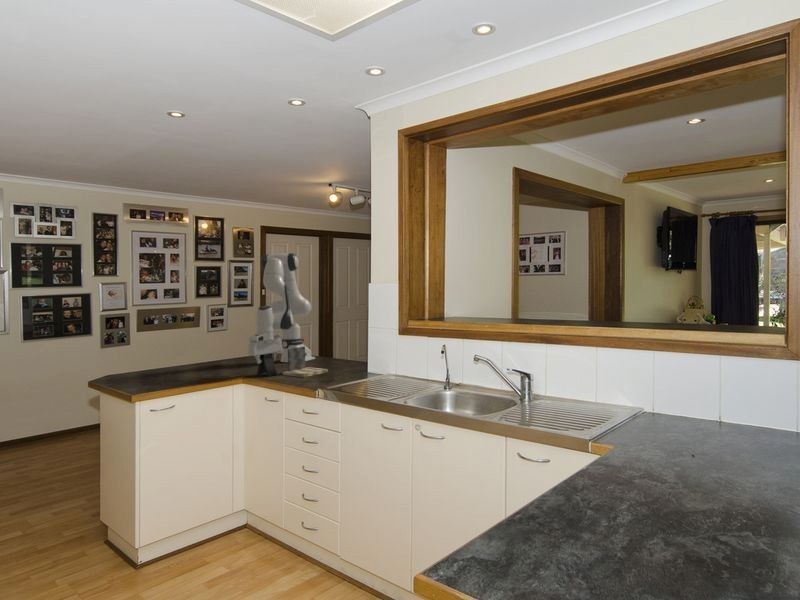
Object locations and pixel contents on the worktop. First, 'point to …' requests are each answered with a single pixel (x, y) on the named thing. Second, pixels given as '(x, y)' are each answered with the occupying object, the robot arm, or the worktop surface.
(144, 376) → the worktop surface
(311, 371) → the l-shaped stand
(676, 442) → the worktop surface
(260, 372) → the door stopper
